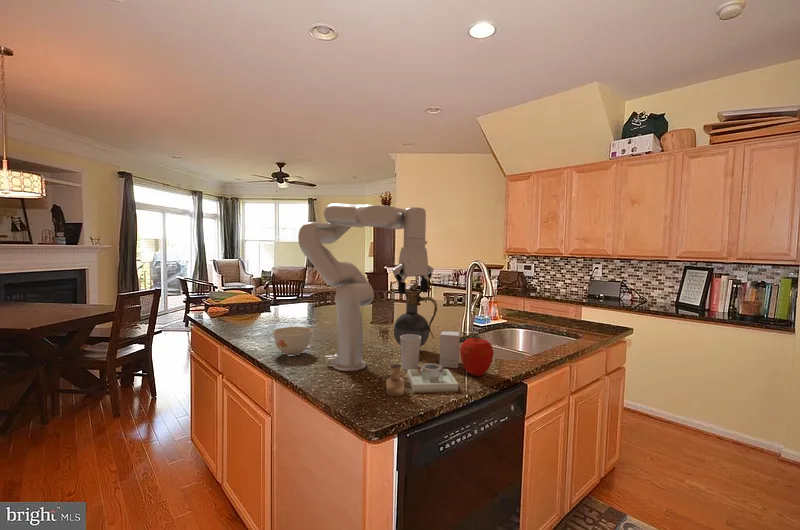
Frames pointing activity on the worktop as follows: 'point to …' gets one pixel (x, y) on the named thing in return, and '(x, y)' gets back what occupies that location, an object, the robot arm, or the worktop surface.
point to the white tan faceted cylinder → (395, 381)
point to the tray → (418, 386)
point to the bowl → (292, 339)
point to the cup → (410, 351)
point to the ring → (431, 373)
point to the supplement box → (449, 349)
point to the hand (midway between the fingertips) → (413, 292)
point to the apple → (476, 355)
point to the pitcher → (413, 317)
